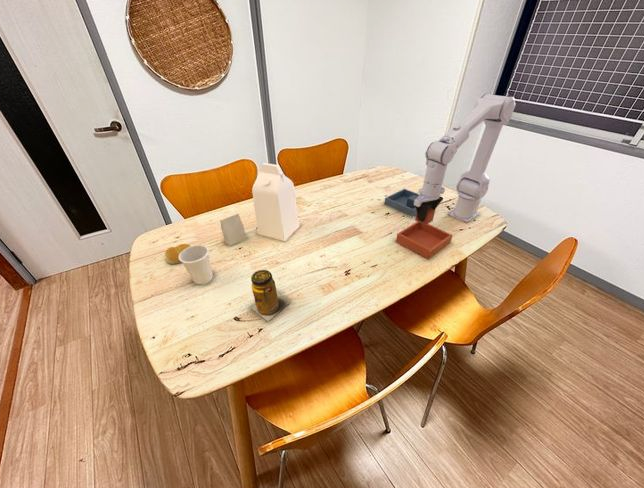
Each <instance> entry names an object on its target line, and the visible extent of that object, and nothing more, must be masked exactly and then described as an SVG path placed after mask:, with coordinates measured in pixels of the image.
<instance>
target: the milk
mask: <svg viewBox="0 0 644 488" xmlns="http://www.w3.org/2000/svg"><path fill="white" fill-rule="evenodd" d="M251 193H252V202H253V207H254V216H255V222H256V230H257V235H259V236H264V237H267V238H271V239H275V240H278V241H282V242H286V241H287V240H288V239H289V238H290V237H291V236H292V235H293V234H294V232H296V230H297V229H299V228H300V226H301V224H300V219H299V211H298V204H297V197H296V190H295V184H294V182H293V180H292V179H290V177H287V176H286V175H285V174H284V173H283V171H282V170H281V167H280V165H279V164H275V163H268V162H263V163H261V165H260V170H259V173H258V175H257V177H256V179H255V181H254V183H253V185H252V189H251Z"/></svg>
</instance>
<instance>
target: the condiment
mask: <svg viewBox="0 0 644 488" xmlns="http://www.w3.org/2000/svg"><path fill="white" fill-rule="evenodd" d="M250 280H251V291H252V294H253V298H254V302H255V304H254V305H253V306H252V307H251V310H253V311H254V312H255V313H256V314H258V315H259V316H260V317H262V318H263V319H264V320H265V321H267V322H269V321H270V320H272V319H273V318H274V317H275V316H277V315H278V314H279V313H280V312H281V311H282V310H284V308H286V307H287V306H289V304H291V301H289V300H288V299H287V298H285V297H283V296H282V295H280V294H279V293H278V291H277V287H276V286H277V285H276V282H275V280H274V278H273V273H271V272H270V271H269V270H266V269H260V270H256V271H255V272H254V273H253V274H251V276H250Z"/></svg>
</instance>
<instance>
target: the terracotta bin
mask: <svg viewBox="0 0 644 488" xmlns="http://www.w3.org/2000/svg"><path fill="white" fill-rule="evenodd" d="M453 236H454V235H453V234H451V233H449V232H447V231H444V230H442V229H440V228H438V227H436V226H434V225H432V224H430V223H428V224H427V225H424V224H421V223H419V222H417V221H416V222H414V223H412V224H410V225H409V226H407V227H406V228H404V229H402V230H401V231H399V232H397V233H396V237H395V243H397V244H399V245H401V246H402V247H404V248H406V249H408V250H410V251H412V252H414V253H416V254H417V255H419V256H421V257H423V258H425V259H427V260H430V259H431V258H433V257H434V256H436V255H437V254H438V253H440V252H441V251H442V250H444V249H445V248H446V247H448V246H449V245H450V244H451V242H452V239H453Z"/></svg>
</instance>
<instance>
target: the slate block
mask: <svg viewBox="0 0 644 488" xmlns="http://www.w3.org/2000/svg"><path fill="white" fill-rule="evenodd" d="M417 197H418V196H415V195H413V196H411V197H409V198H408V199H407V204H406V206H407V207H409V208H412V209H414V208H416V207H415V205H414V201H415V199H417Z"/></svg>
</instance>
